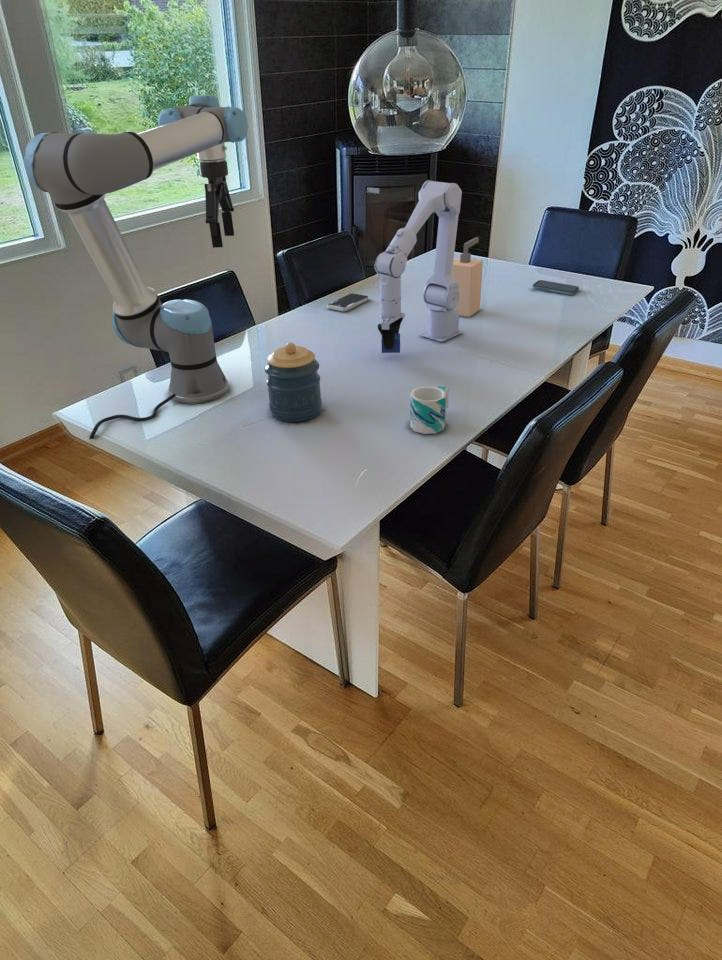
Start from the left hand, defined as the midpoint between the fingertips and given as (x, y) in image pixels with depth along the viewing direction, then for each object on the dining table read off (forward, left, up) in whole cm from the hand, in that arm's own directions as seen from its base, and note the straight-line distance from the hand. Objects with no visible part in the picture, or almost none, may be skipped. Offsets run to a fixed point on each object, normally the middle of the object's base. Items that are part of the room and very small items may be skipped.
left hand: (223, 241), depth 193 cm
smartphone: (+44, -9, -30) cm, 54 cm away
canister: (-27, -49, -30) cm, 63 cm away
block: (+13, -49, -27) cm, 58 cm away
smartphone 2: (+95, -63, -30) cm, 118 cm away
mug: (-14, -80, -30) cm, 86 cm away
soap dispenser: (+60, -47, -30) cm, 82 cm away
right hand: (+13, -49, -26) cm, 57 cm away
